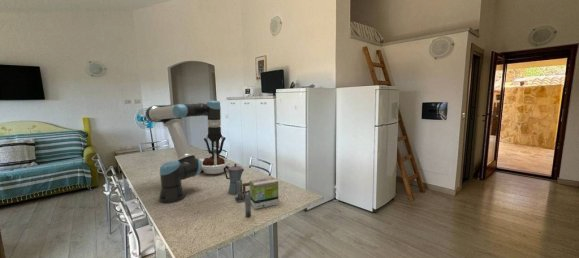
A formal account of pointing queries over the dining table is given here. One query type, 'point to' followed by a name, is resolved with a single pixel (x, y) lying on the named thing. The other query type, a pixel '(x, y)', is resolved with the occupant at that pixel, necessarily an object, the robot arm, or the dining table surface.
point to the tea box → (264, 192)
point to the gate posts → (242, 199)
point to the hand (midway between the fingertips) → (215, 164)
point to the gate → (244, 188)
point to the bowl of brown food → (214, 169)
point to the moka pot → (234, 177)
